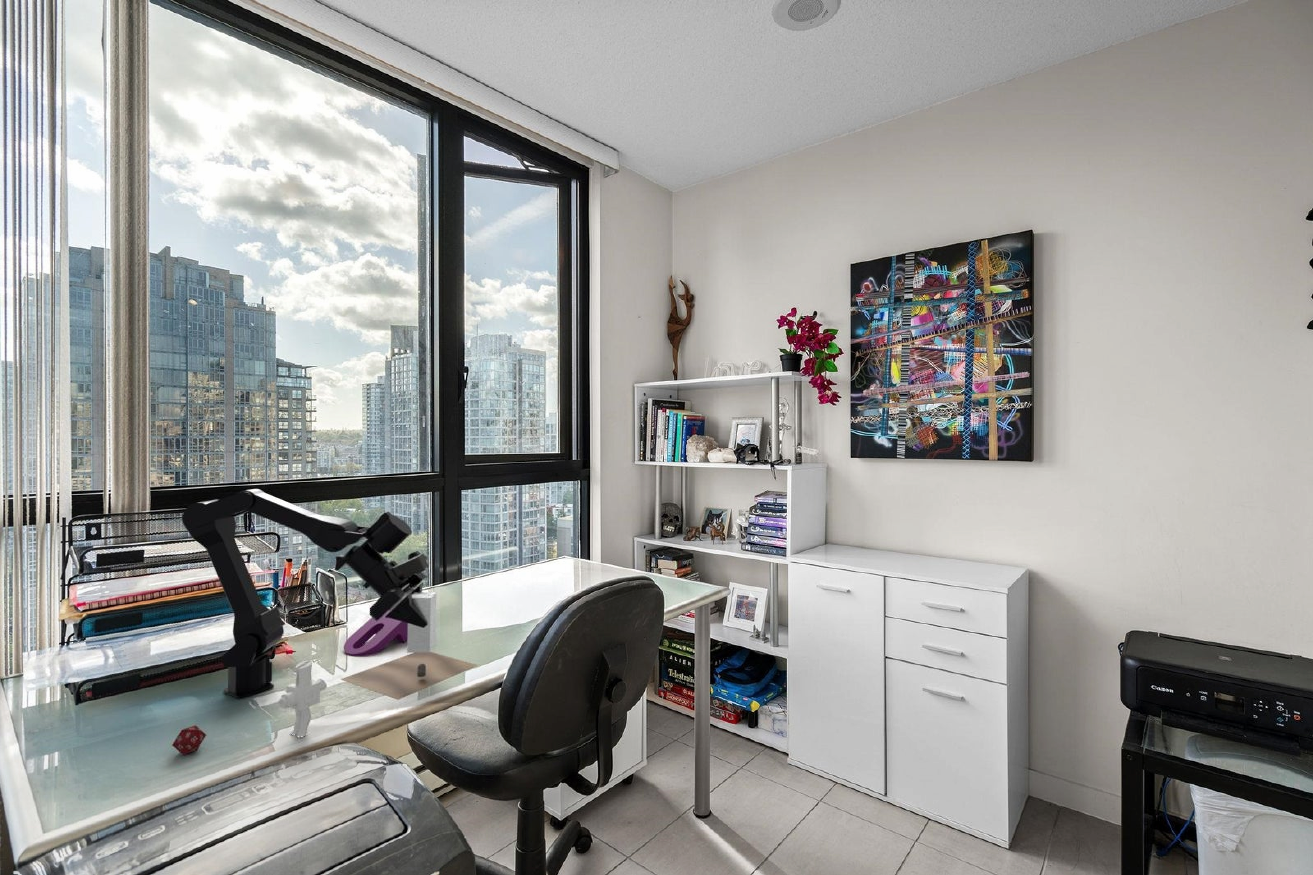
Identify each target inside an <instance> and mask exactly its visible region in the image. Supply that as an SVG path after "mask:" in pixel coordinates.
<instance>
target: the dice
mask: <svg viewBox="0 0 1313 875" xmlns="http://www.w3.org/2000/svg"><path fill="white" fill-rule="evenodd" d="M206 737H207V733H205V732H204V731H203V730H202V729H200V728H199V727H198V726H197V725H192V726H190V727H186V728H183V729H181V730H180V732H179V733H178V735H177V736H176V737H175V739H174V741H173V742H172V745H171V746H172V747H174V748H175V750H177V751H178V752H179V753H180V754H181V755H183V756H184V755H187V754H190V753H192V752H195V751H198V749H199V747H200V746H201V744H203V741H204V739H205V738H206Z"/></svg>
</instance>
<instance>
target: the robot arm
mask: <svg viewBox="0 0 1313 875" xmlns="http://www.w3.org/2000/svg"><path fill="white" fill-rule="evenodd" d="M248 512H249V513H252V514H255V515H256V516H259V517H261V518H264V519H266V520H269V521H272V522H274V523H276V524H278V525H281V526H283V527H287V528H289V529H292V530H294V531H297V532H299V533H301V534H302V535H304V536H305V537H307V538H308V539H309V540H310V542H311V543H313V544H314V545H316V546H317V547H319V548H321V549H322V550H324V551H326V552H329V553H337V552H340V551H342V550H345V549H347V548H349V547H351V548H349V550H348V551H347V552H346V553H345V554H339V555H336V556H335V567H334V569H335V571H339V570H341V569H343V568H345V567H346V566H348V568H350V570H351V571H353V573H355V574H356V575H357V576H358V577H359V578H360V579H361V581H363V582H364V584H362V586H363V587H364V589H366V590H367V589H369V588H370V589H372V591H373V592H375V594H377V595H378V596H379V598H378V599H377V600H376V601H375V602H374V603H373V604H372V605H371V606H370V607H369V616H370V618H373V619H374V620H376V621H378V620H379V619H380V618H381V617H382V616H383V615H384V614H385V613H386V612H387V611H388V610H389V611H390V612H389V613H388V614H387V615H386V616H385V618H391V619H395V620H399V621H402V622H406V623H409V624H412V625H415V626H418V627H422V628H424V627H425V626H426V625H427V622H426V621H425V619H424V618H423V616H422V615H421V614H420V613H419V611H418V610H417V609H416V608H415V606H414V605H413V604H412V594H414V593H415V592H423V586H424V582H423V581H424V580H425V579H426V578H427V576H426V575H425V573H423V572H424V571H426V570H427V568H429V567H430V565H429V563H428V561H427V560H428V556H427V555H425V553H424V552H419V550H415V551H413V552H412V551H411V552H410V553H409V554H408V555H407V560H404V561H402V562H400V563H398V562H397V561H395V560H390V561H388V560H387V559H386V557H384V556H383V555H382V554H385V553H386V554H392V553H393V552H394V550H396V549H397V548H398V547H399V546H400V545H401V544H402V543H403V542H405V540H407V539H408V538H409V536H411V535H412V534H413V532H412V528H411V527H410V526H409V524H408V523H407V521H405V520H404V519H401V518H400V517H398V516H397V515H394V514H392V513H391V512H390V511H385V512H383V513H382V514H381V515H380V516H379V518H378V519H377V520H376V521H375V522H374V523H373V524H372V525H371V526H365V525H363V526H362V525H358V524H357V523H355V521H352V520H351V519H346V518H342V517H337V516H329V515H323V514H318V513H315V512H313V511H310V510H307V509H305V508H303V507H301V506H298V505H295V504H293V503H290V502H288V501H285V500H283V499H281V498H278V497H275V496H273V495H271V494H269V493H266V492H264V491H263V490H261V489H259V488H253V489H251V488H250V489H246V490H241V491H240V492H238V493H236V494H233V495H231V496H226V497H224V498H221V499H212V500H205V501H200V502H199V501H198V502H195V503H191V504H190V505H188V506H187V507H186V508H185V509H184V511H183V513H182V514H181V522H182V525H183V526H184V528H185V529H186V530H187V533H188V534H189V536H190V537H191V538H192V539H193V540H194V541H195V542H197V543H198V544H200V545H201V546H202V547H203V548H204V549H205V550H206V552H207V554H208V557H209V559H210V561H211V564H212V566H213V569H214V571H215V573H216V576H217V577H218V580H219V583H220V585H221V588H222V589H223V592H224V594H225V596H226V597H225V598H226V599H227V601H228V604H229V606H230V608H231V610H232V612H233V626H232V635H233V639H234V643H235V644H233V646H231V648H229V649H228V650H227V651H226V652H225V653H224V654H223V655H222V656H221V659H220V660H221V661H222V665H223V667H224V668H227V687H226V688H223V690H222V691H223V693H226V694H227V695H230V696H232V697H234V698H236V699H243V698H247V697H249V696H253V695H255V694H258V693H261V692H264V691H267V690H269V689H272V688H274V687H275V684H274V683H272V681H273V661H271V655H269V653H272V652H273V651H274V649H275V646H276V644H278V643H279V642H280V641H281V640H282V638H283V635H284V634H285V629H284V627H283V626H284V625H286V623H285V622H284V620H283V619H282V617H281V615H280V611H279V608H278V607H277V606H275V607H273V608H271V609H270V608H268V607H267V606H266V605H265V604H263V602H262V600H261V598H260V596H259V593H258V591H257V588H256V586H255V584H254V582H253V580H252V577H251V575H250V572H249V570H248V568H247V565H246V563H245V560H244V558H243V556H242V554H241V551H240V549H239V547H238V544H237V540H236V538H235V537H236V536H235V535H236V529H237V521H236V517H237V516H241V515H243V514H246V513H248ZM364 540H365V541H364ZM361 541H364V542H363V543H362V544H361V545H354V544H357V543H359V542H361Z"/></svg>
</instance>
